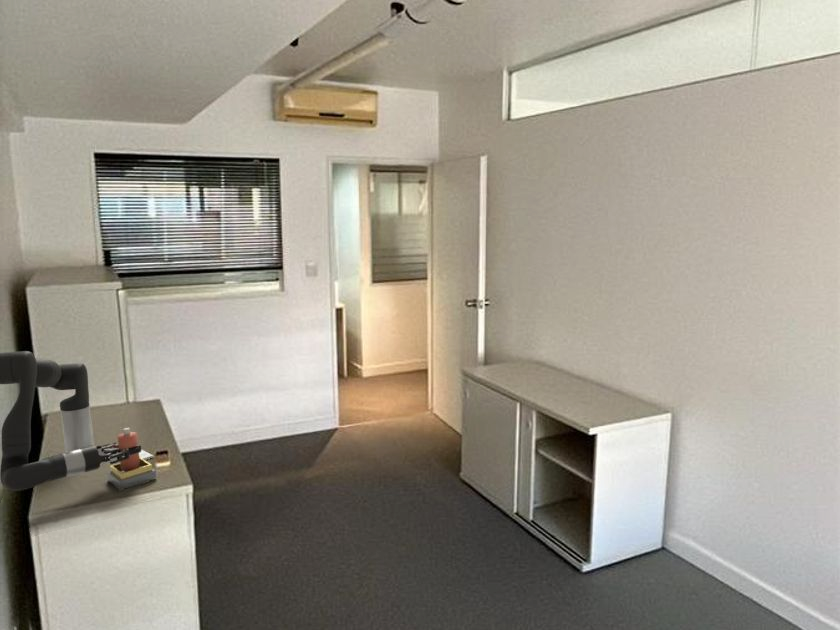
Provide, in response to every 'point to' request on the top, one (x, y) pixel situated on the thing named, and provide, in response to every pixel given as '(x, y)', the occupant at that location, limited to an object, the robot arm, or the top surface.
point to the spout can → (127, 441)
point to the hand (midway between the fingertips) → (137, 446)
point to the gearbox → (131, 475)
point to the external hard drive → (145, 455)
